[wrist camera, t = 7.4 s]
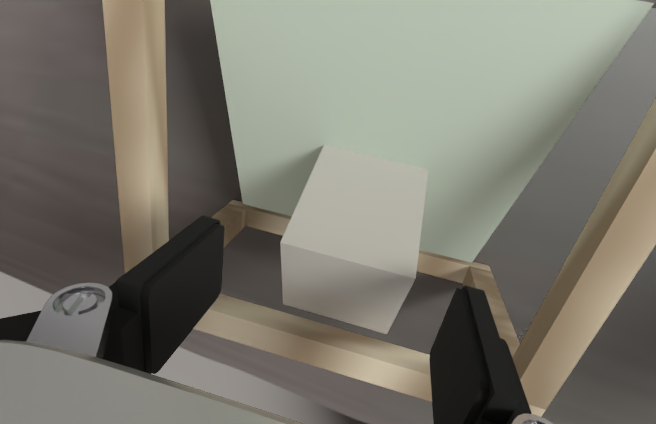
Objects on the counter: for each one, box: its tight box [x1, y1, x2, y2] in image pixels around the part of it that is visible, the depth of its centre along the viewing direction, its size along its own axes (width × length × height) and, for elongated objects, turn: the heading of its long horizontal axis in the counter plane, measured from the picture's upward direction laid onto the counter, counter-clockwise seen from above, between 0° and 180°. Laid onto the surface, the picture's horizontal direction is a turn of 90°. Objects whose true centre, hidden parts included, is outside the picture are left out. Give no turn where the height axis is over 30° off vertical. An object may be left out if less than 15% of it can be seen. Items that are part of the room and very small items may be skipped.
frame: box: [102, 0, 656, 417], centre depth 18 cm, size 20×20×12 cm
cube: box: [280, 145, 428, 334], centre depth 16 cm, size 5×5×6 cm
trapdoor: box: [210, 0, 656, 263], centre depth 16 cm, size 16×15×1 cm
